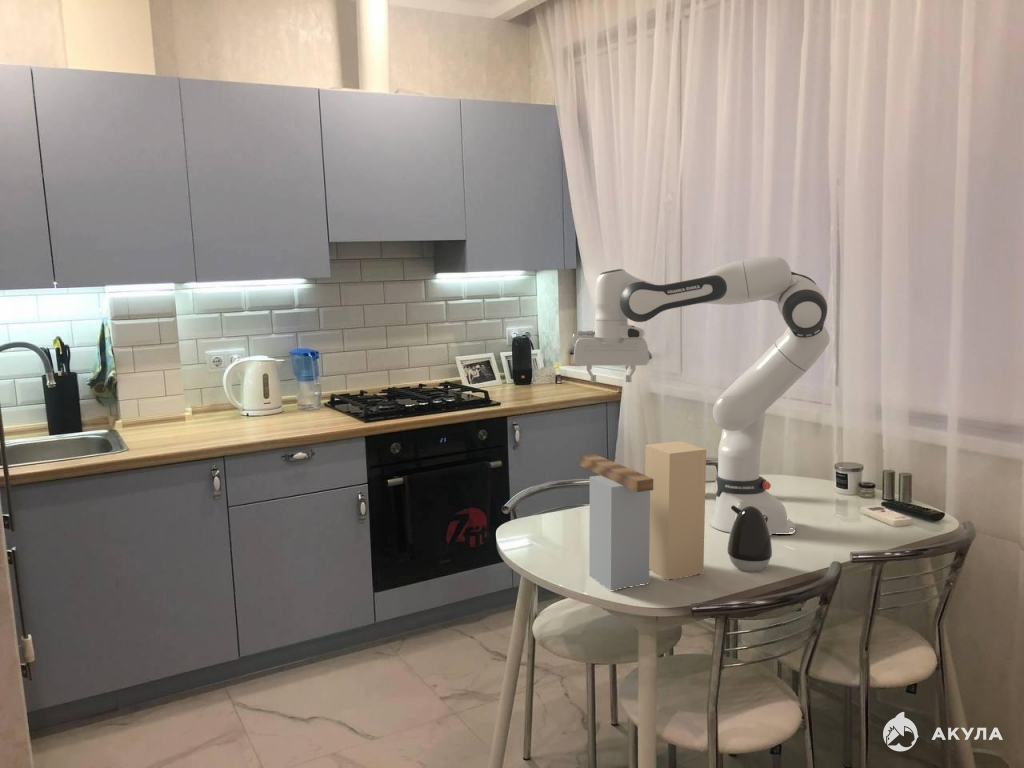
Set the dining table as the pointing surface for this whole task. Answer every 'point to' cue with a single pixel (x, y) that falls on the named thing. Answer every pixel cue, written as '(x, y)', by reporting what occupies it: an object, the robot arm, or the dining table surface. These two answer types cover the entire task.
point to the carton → (676, 508)
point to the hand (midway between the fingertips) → (610, 381)
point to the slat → (617, 473)
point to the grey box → (618, 534)
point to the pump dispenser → (749, 540)
